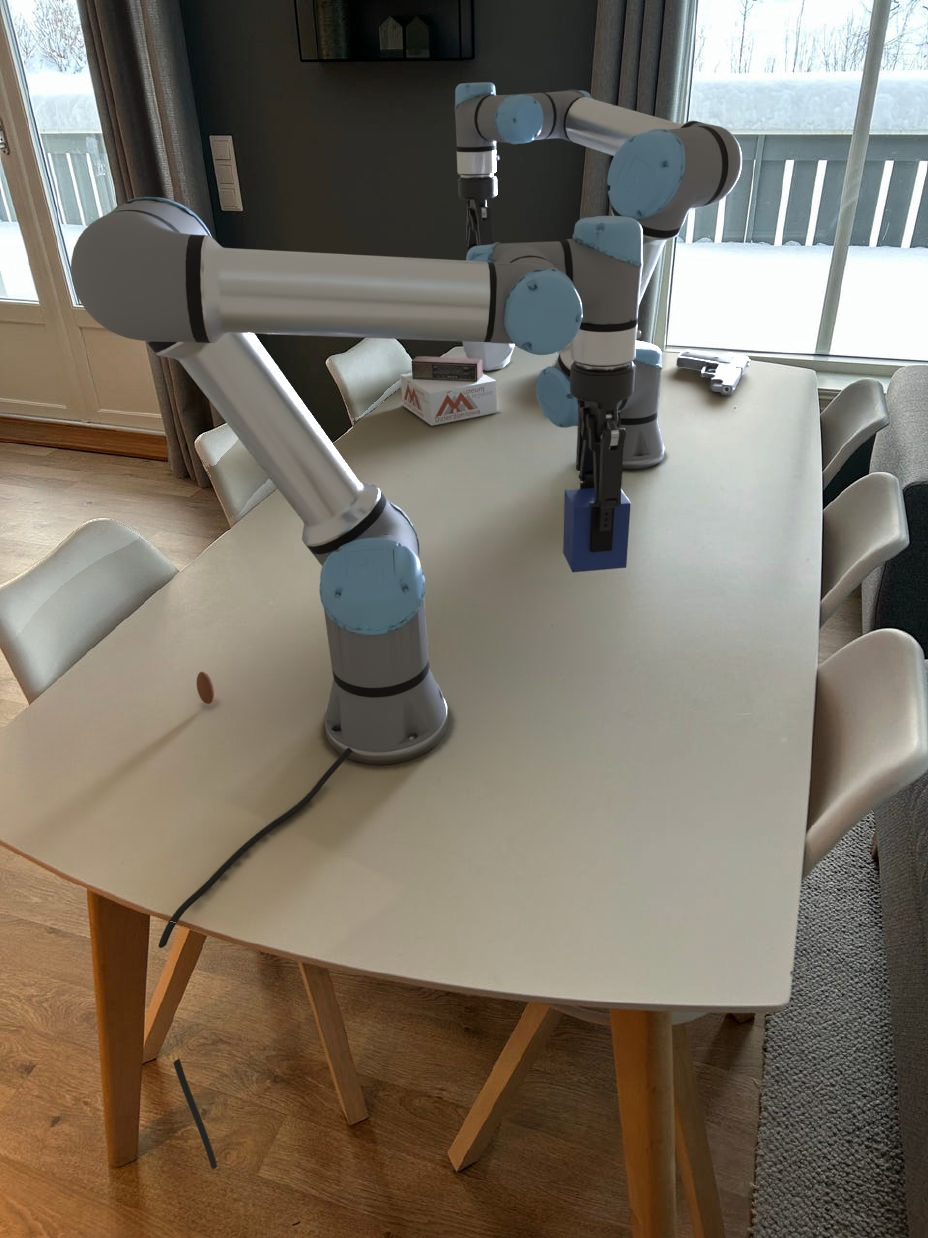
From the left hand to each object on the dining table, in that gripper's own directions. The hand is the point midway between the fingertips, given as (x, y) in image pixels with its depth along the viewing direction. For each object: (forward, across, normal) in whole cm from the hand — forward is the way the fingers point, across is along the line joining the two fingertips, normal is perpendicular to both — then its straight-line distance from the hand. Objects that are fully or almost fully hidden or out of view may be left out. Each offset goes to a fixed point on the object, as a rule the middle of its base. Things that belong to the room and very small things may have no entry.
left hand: (594, 539), depth 118 cm
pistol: (+17, +114, -58) cm, 129 cm away
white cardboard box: (+17, +106, +8) cm, 108 cm away
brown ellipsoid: (+17, -4, +52) cm, 55 cm away
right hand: (-13, +89, +2) cm, 90 cm away
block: (+3, 0, 0) cm, 3 cm away
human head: (+17, +140, -7) cm, 141 cm away
